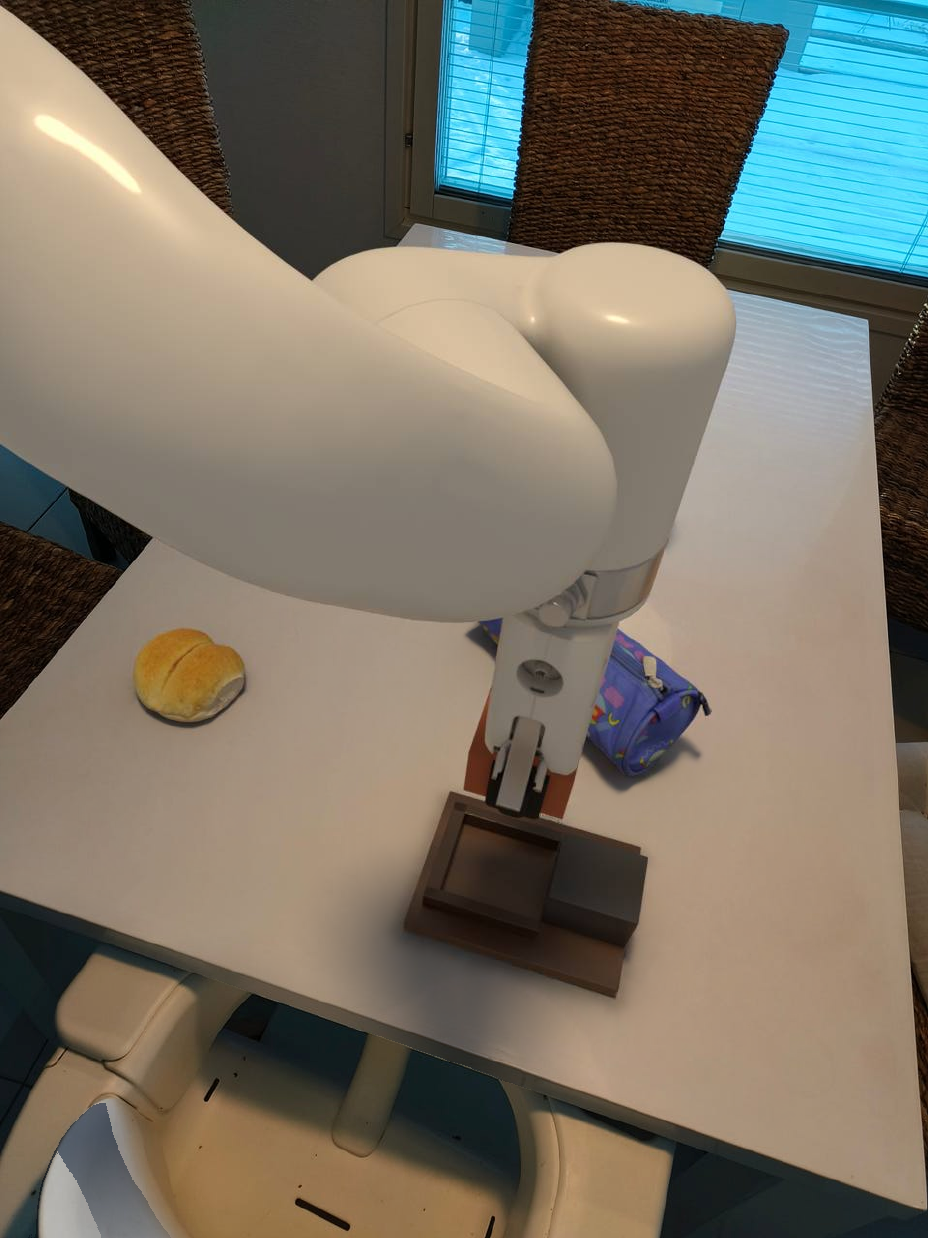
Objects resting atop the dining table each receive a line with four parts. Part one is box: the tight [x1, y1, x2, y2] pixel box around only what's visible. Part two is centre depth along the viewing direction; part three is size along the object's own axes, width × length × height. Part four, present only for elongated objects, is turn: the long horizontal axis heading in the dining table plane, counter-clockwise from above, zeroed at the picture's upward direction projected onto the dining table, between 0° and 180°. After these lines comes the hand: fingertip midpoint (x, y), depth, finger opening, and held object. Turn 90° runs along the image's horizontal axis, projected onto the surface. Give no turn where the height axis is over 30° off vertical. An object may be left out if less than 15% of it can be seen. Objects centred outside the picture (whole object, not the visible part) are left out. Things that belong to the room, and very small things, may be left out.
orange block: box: [462, 688, 581, 820], centre depth 50 cm, size 5×6×4 cm
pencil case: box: [477, 618, 713, 776], centre depth 71 cm, size 22×9×10 cm, turn 37°
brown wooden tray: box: [403, 790, 649, 997], centre depth 60 cm, size 11×15×5 cm
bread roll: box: [132, 627, 245, 723], centre depth 71 cm, size 8×9×4 cm
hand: (524, 766), depth 51 cm, fingers closed on orange block, 5 cm apart
